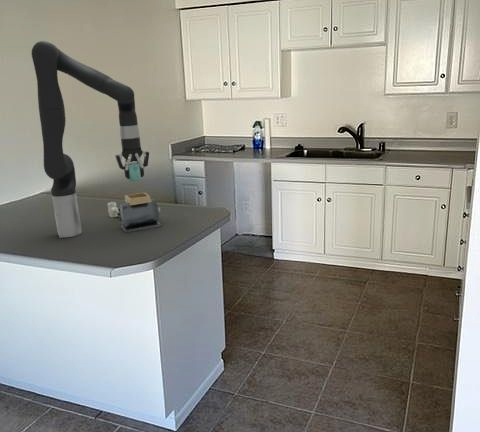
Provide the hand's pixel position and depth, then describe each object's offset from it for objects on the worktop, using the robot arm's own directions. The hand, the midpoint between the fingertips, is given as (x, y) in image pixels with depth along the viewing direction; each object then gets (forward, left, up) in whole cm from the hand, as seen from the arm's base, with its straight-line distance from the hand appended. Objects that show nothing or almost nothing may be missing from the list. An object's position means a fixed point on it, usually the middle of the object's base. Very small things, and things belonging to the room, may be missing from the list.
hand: (135, 177), depth 196 cm
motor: (0, 0, -21) cm, 21 cm away
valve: (-5, +21, -22) cm, 30 cm away
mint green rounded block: (0, 0, -1) cm, 1 cm away
